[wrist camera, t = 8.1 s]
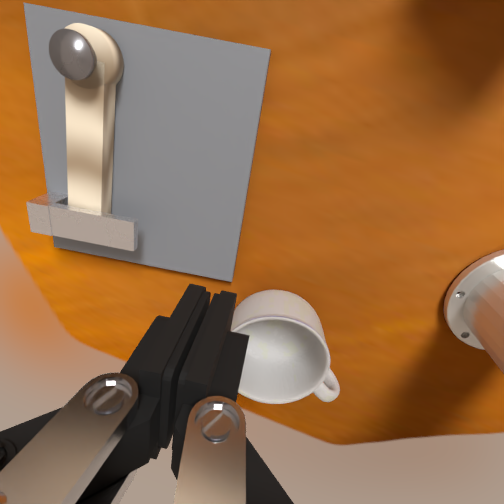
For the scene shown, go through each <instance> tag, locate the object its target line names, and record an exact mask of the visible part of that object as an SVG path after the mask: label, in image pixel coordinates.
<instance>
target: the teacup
mask: <svg viewBox="0 0 504 504" xmlns="http://www.w3.org/2000/svg"><path fill="white" fill-rule="evenodd" d="M231 331H232V332H237V333H241V334H246V335H250V336H249V341H248V346H247V351H246V356H245V361H244V365H243V370H242V375H241V380H240V385H239V390H238V393H240V394H242V395H243V396H245V397H248V398H250V399H252V400H254V401H258V402H262V403H269V404H284V403H289V402H293V401H297V400H299V399H301V398H304V397H306V396H308V395H309V394H311V393H312V392H313V393H314V394H315V395H316V396H317V397H318V398H319V399H321V400H322V401H324V402H331V401H333V400H334V399H335V398H337V396H338V395H339V392H340V388H339V384H338V381H337V379H336V377H335V375H334V373H333V372H332V371H331V369H330V368H329V367H330V353H329V349H328V347H327V344H326V341H325V337H324V333H323V329H322V326H321V323H320V320H319V318H318V316H317V314H316V312H315V310H314V309H313V308H312V307H311V305H310V304H309V303H308V302H307V301H305V300H304V299H303V298H301V297H300V296H298V295H296V294H293V293H291V292H288V291H283V290H265V291H261V292H257V293H255V294H253V295H251V296H249V297H247V298H246V299H244V300H243V301H242V302H241V303H240V304H239V305H238V306H237V307H236V309H235V310H234V314H233V320H232V326H231ZM323 382H324V383H323Z"/></svg>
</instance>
